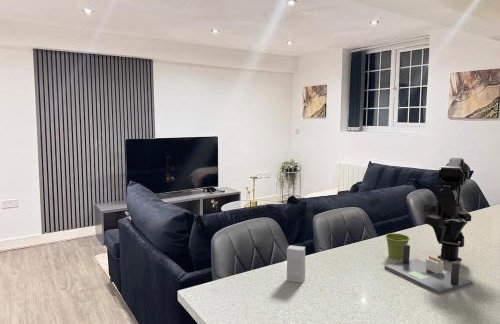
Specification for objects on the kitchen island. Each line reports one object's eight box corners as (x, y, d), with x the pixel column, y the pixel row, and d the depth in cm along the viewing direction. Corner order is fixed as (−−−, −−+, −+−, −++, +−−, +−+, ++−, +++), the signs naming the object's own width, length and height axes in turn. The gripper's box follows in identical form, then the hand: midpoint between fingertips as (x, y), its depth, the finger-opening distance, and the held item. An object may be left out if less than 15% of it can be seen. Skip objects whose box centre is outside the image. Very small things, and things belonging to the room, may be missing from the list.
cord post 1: (405, 261, 152) (406, 244, 151) (410, 263, 150) (411, 245, 149) (401, 262, 151) (402, 245, 150) (406, 264, 149) (406, 246, 148)
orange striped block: (431, 267, 145) (432, 255, 144) (442, 272, 140) (443, 259, 140) (425, 268, 144) (426, 256, 143) (437, 273, 139) (438, 261, 139)
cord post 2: (453, 281, 133) (454, 262, 132) (460, 284, 131) (461, 264, 130) (448, 283, 132) (450, 263, 131) (455, 285, 130) (456, 266, 129)
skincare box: (305, 278, 138) (305, 246, 137) (303, 283, 134) (303, 250, 133) (288, 276, 140) (289, 244, 139) (286, 281, 136) (286, 248, 135)
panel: (416, 261, 155) (416, 258, 155) (472, 284, 133) (472, 281, 133) (384, 268, 148) (384, 265, 147) (438, 294, 126) (439, 290, 126)
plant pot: (410, 261, 154) (411, 241, 153) (386, 260, 156) (387, 239, 155) (406, 253, 163) (407, 234, 162) (383, 252, 165) (383, 232, 164)
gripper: (447, 193, 153) (444, 231, 155) (413, 198, 145) (411, 238, 147) (473, 199, 143) (470, 239, 144) (438, 204, 135) (435, 247, 137)
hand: (446, 240), depth 143 cm, fingers open, 7 cm apart
